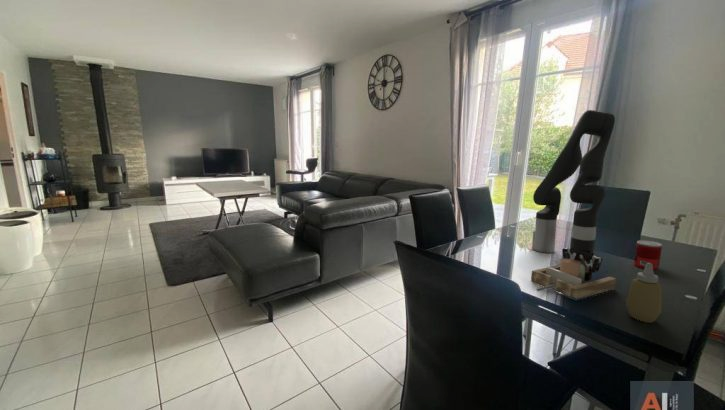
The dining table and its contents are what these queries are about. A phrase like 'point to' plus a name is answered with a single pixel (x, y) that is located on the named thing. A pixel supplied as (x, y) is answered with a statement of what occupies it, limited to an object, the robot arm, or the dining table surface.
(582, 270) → the sage jar
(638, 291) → the squeeze bottle
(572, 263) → the terracotta jar
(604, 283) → the lane
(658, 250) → the canned food
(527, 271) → the dining table surface
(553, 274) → the pusher plate
